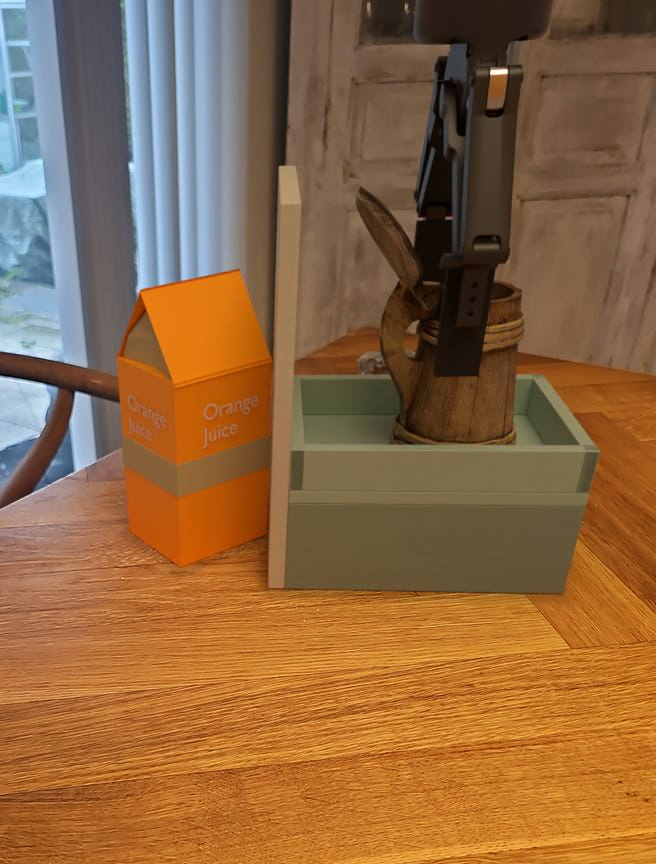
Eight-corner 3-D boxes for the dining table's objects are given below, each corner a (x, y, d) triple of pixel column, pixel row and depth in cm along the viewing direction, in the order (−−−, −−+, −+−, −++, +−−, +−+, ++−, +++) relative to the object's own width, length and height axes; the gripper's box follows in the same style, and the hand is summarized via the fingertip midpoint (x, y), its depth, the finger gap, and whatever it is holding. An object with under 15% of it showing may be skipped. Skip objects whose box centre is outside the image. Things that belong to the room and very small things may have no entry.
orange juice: (268, 534, 72) (276, 277, 60) (180, 568, 68) (170, 301, 56) (211, 500, 77) (208, 258, 66) (127, 530, 73) (107, 279, 62)
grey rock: (366, 404, 95) (369, 366, 93) (352, 380, 101) (355, 344, 99) (464, 398, 95) (469, 361, 93) (444, 375, 101) (449, 339, 99)
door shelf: (516, 500, 75) (588, 158, 60) (563, 594, 63) (668, 195, 48) (268, 497, 77) (278, 165, 62) (268, 588, 65) (280, 203, 50)
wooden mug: (317, 435, 68) (333, 176, 58) (480, 418, 70) (525, 163, 59) (356, 484, 61) (383, 197, 50) (537, 463, 63) (599, 182, 52)
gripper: (395, -32, 59) (368, 295, 72) (458, -52, 39) (405, 408, 51) (509, -39, 58) (462, 293, 71) (634, -62, 38) (538, 407, 51)
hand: (438, 342), depth 61 cm, fingers open, 13 cm apart
